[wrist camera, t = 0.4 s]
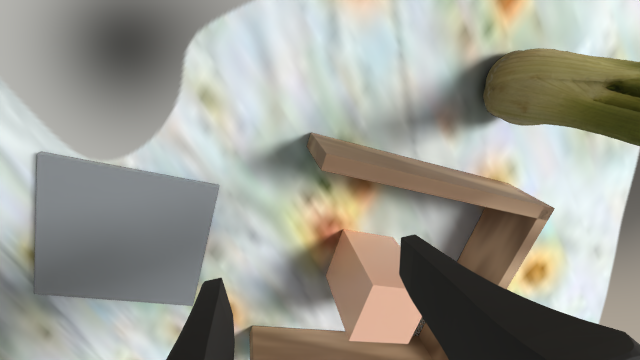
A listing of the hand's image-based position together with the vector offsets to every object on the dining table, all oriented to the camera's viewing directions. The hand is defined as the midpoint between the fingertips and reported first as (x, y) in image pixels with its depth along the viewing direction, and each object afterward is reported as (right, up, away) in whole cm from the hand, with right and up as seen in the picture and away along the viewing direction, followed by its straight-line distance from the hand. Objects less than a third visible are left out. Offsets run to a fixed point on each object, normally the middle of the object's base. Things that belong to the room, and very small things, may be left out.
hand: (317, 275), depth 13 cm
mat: (-13, 0, +9) cm, 16 cm away
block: (+3, -3, +14) cm, 15 cm away
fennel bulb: (+14, +11, +11) cm, 21 cm away
